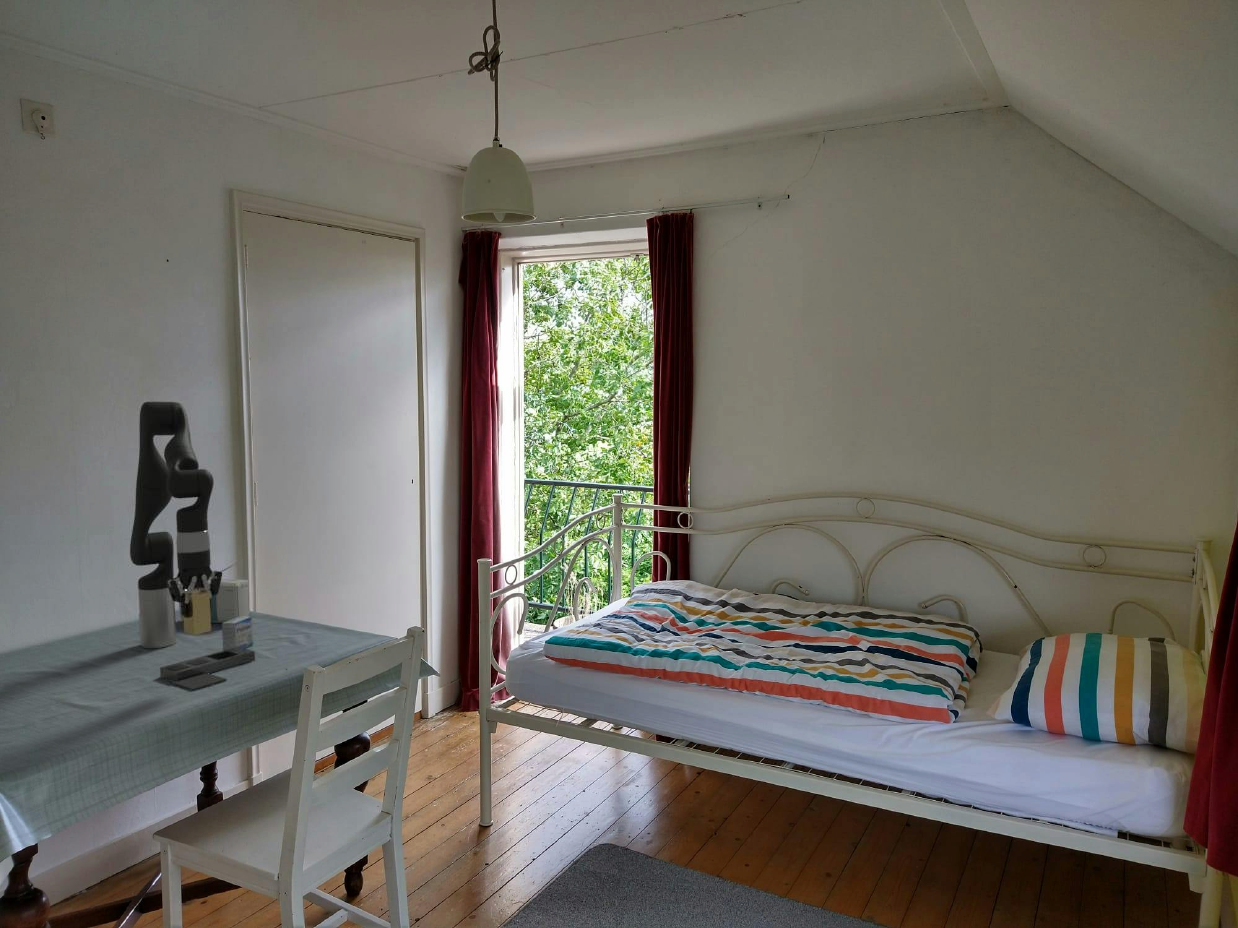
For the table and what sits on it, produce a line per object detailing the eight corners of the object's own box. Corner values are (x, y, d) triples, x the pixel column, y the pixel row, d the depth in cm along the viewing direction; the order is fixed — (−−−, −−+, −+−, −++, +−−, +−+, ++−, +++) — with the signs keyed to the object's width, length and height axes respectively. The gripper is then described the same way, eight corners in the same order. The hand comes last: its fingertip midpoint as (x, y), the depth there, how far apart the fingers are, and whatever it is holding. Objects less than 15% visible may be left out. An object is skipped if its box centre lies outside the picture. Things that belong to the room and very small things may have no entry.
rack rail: (160, 676, 226) (160, 667, 225) (237, 655, 244) (237, 646, 244) (177, 682, 221) (177, 672, 221) (255, 660, 239) (254, 650, 239)
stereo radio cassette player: (178, 623, 280) (175, 561, 278) (195, 616, 288) (192, 557, 286) (237, 625, 276) (234, 563, 274) (252, 618, 284) (250, 558, 282)
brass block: (184, 632, 219) (182, 593, 218) (201, 628, 223) (199, 590, 222) (194, 634, 217) (192, 595, 216) (211, 630, 220) (209, 592, 220)
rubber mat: (172, 684, 220) (172, 682, 220) (206, 674, 227) (206, 672, 227) (192, 690, 215) (192, 688, 215) (226, 680, 222) (226, 678, 222)
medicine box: (236, 653, 246) (235, 623, 245) (222, 652, 247) (221, 622, 246) (253, 645, 254) (252, 616, 253) (240, 644, 255) (238, 615, 254)
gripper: (211, 543, 226) (214, 607, 228) (157, 551, 214) (160, 619, 216) (228, 545, 222) (231, 611, 223) (173, 554, 210) (177, 623, 212)
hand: (196, 614), depth 220 cm, fingers closed on brass block, 4 cm apart
